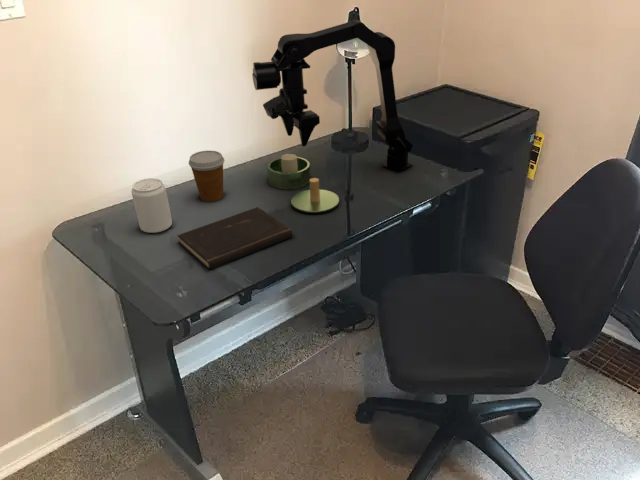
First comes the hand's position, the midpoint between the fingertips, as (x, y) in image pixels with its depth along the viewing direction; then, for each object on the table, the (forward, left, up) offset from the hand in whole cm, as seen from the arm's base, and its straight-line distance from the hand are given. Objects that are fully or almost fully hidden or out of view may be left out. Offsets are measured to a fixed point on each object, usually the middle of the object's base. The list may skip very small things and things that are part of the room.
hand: (296, 140), depth 172 cm
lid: (+7, +13, -12) cm, 19 cm away
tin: (+1, -3, -13) cm, 13 cm away
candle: (+1, -2, -12) cm, 12 cm away
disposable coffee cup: (+23, -12, -13) cm, 29 cm away
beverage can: (+43, -9, -13) cm, 46 cm away
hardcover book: (+34, +12, -13) cm, 38 cm away
